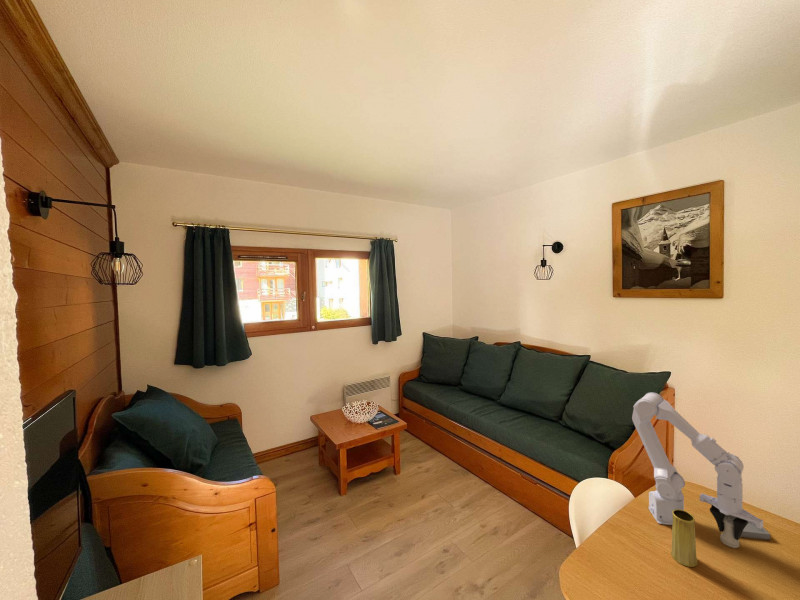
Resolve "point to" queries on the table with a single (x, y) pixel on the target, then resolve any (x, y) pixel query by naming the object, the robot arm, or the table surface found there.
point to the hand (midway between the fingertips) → (729, 534)
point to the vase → (683, 538)
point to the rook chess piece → (729, 534)
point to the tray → (753, 531)
